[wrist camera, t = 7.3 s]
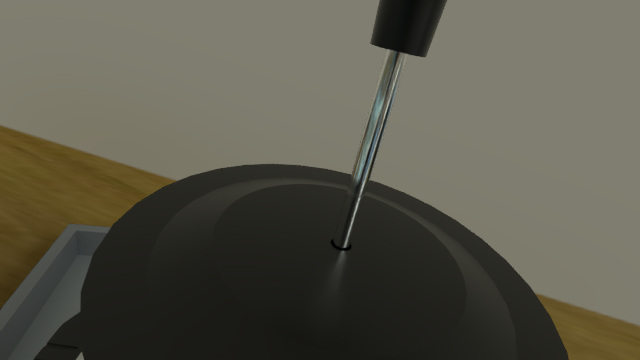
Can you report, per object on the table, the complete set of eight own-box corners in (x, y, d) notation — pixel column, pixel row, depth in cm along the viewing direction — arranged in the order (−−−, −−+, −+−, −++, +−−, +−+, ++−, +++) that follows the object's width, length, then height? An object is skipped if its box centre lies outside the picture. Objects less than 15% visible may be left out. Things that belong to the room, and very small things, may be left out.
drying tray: (254, 267, 41) (259, 239, 40) (255, 448, 25) (264, 414, 23) (72, 255, 37) (69, 223, 35) (-77, 469, 20) (-96, 429, 18)
